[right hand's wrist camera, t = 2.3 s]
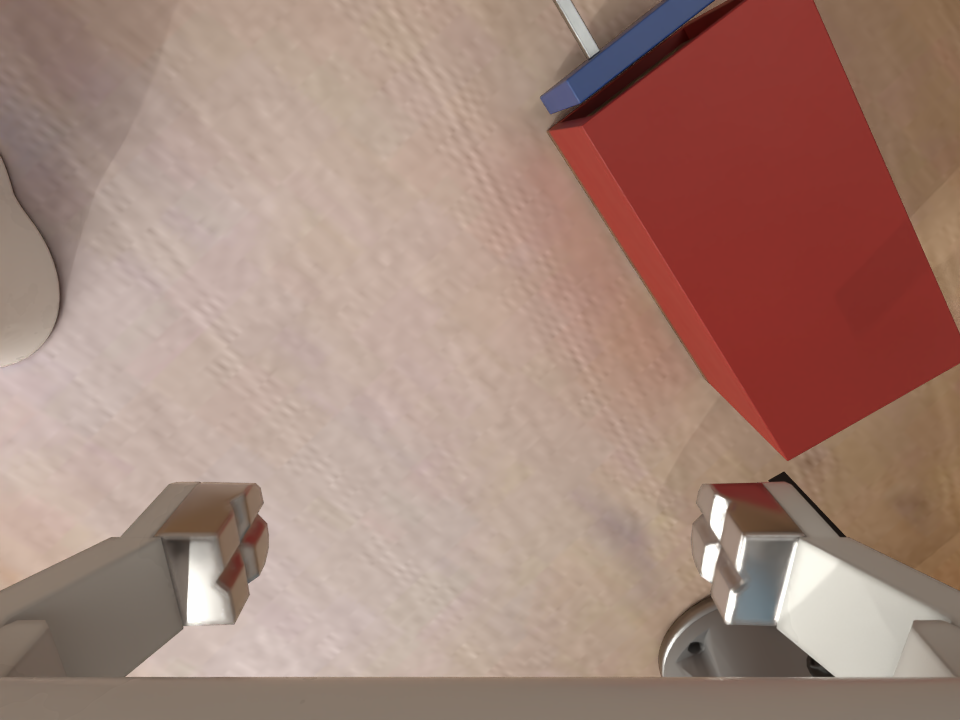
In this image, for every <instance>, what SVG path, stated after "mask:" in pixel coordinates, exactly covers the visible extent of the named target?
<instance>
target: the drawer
mask: <svg viewBox="0 0 960 720" xmlns="http://www.w3.org/2000/svg"><path fill="white" fill-rule="evenodd" d="M713 1H715V0H662V1H661V2H660V3H658V4H657V5H656V6H655V7H653V8H652V9H651V10H650V11H648V12H647V13H646V14H645V15H643V16H642V17H641V18H639V19H638V20H637V21H636V22H634V23H633V24H632V25H631V26H629V27H628V28H627V29H625V30H624V31H623V32H622V33H620V34H619V35H618V36H617V37H615V38H614V39H613V40H612V41H610V42H609V43H608V44H606V45H605V46H604V47H603V48H601V49H599V48H598V46H597V44H596V42H595V41H594V39H593V37H592V35H591V34H590V32H589V30H588V28H587V27H586V25H585V23H584V22H583V20H582V18H581V16H580V15H579V13H578V11H577V9H576V8H575V6H574V4H573V2H572V1H571V0H553V2H554V3H555V5H556V7H557V9H558V10H559V12H560V14H561V15H562V17H563V19H564V21H565V22H566V24H567V26H568V27H569V29H570V31H571V32H572V34H573V36H574V38H575V39H576V41H577V43H578V44H579V46H580V48H581V49H582V51H583V53H584V55H585V56H586V58H587V60H586V61H585V62H584V63H582V64H581V65H580V66H579V67H577V68H576V69H575V70H573V71H572V72H571V73H570V74H568V75H567V76H566V77H565V78H563V79H562V80H561V81H560V82H558V83H557V84H556V85H554V86H553V87H552V88H551V89H549V90H548V91H547V92H546V93H544V94H543V95H542V96H541V97H540V99H541V100H542V102H543V104H544V105H545V107H546V108H547V110H548V112H549V113H550V114H553V113H555V112H558V111H561V110H564V109H567V108H569V107H572V106H575V105H578V104H580V103H582V102H584V101H585V100H586V99H588V98H589V97H590V96H591V95H593V94H594V93H595V92H597V91H598V90H599V89H601V88H602V87H603V86H604V85H606V84H607V83H608V82H610V81H611V80H612V79H613V78H615V77H616V76H617V75H619V74H620V73H621V72H623V71H624V70H625V69H626V68H628V67H629V66H630V65H632V64H633V63H634V62H635V61H637V60H638V59H639V58H641V57H642V56H643V55H645V54H646V53H647V52H648V51H650V50H651V49H652V48H654V47H655V46H656V45H658V44H659V43H660V42H661V41H663V40H664V39H665V38H667V37H668V36H669V35H670V34H672V33H673V32H674V31H676V30H677V29H678V28H680V27H681V26H682V25H683V24H685V23H686V22H687V21H689V20H690V19H691V18H693V17H694V16H695V15H696V14H698V13H699V12H700V11H702V10H703V9H704V8H705V7H707V6H708V5H709V4H711V3H712V2H713ZM694 38H695V37H694ZM692 39H693V38H692ZM692 39H690V40H688V41H686V42H684V43H682V44H680V45H679V46H678V47H676V48H675V49H674V50H672V51H671V52H670V53H669V54H667V55H666V56H665V57H663V58H662V59H661V60H659V61H658V62H657V63H655V64H654V65H653V66H652V67H650V68H649V69H648V70H646V71H645V72H644V73H642V74H641V75H640V76H638V77H637V78H636V79H634V80H633V81H632V82H631V83H629V84H628V85H627V86H625V87H624V88H623V89H621V90H620V91H619V92H617V93H616V94H615V95H614V96H612V97H611V98H610V99H608V100H607V101H606V102H604V103H603V104H602V105H600V106H599V107H598V108H597V109H595V110H594V111H593V112H591V113H590V114H589V115H587V116H592V115H594V114H595V113H596V112H598V111H599V110H600V109H602V108H603V107H604V106H606V105H607V104H608V103H609V102H611V101H612V100H613V99H615V98H616V97H617V96H619V95H620V94H621V93H623V92H624V91H625V90H627V89H628V88H629V87H630V86H632V85H633V84H634V83H636V82H637V81H638V80H640V79H641V78H642V77H644V76H645V75H646V74H648V73H649V72H650V71H651V70H653V69H654V68H655V67H657V66H658V65H659V64H661V63H662V62H663V61H665V60H666V59H667V58H668V57H670V56H671V55H672V54H674V53H675V52H676V51H678V50H679V49H680V48H682V47H683V46H684V45H686V44H687V43H688V42H689V41H691V40H692ZM587 116H586V117H587Z"/></svg>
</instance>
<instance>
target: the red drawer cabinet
mask: <svg viewBox="0 0 960 720" xmlns="http://www.w3.org/2000/svg"><path fill="white" fill-rule="evenodd" d="M694 37H695V38H694ZM692 38H693V39H692ZM690 39H692V40H691V41H689V42H688V43H687V44H686V45H684V46H683V47H682V48H680V49H679V50H678V51H676V52H675V53H674V54H672V55H671V56H670V57H668V58H667V59H666V60H665V61H663V62H662V63H661V64H659V65H658V66H657V67H655V68H654V69H653V70H651V71H650V72H649V73H648V74H646V75H645V76H644V77H642V78H641V79H640V80H638V81H637V82H636V83H634V84H633V85H632V86H630V87H629V88H628V89H627V90H625V91H624V92H623V93H621V94H620V95H619V96H617V97H616V98H615V99H613V100H612V101H611V102H609V103H608V104H607V105H606V106H604V107H603V108H602V109H600V110H599V111H598V112H596V113H595V114H594V115H592V116H587V115H589V114H590V113H591V112H593V111H594V110H595V109H597V108H598V107H599V106H600V105H602V104H603V103H604V102H606V101H607V100H608V99H610V98H611V97H612V96H614V95H615V94H616V93H617V92H619V91H620V90H621V89H623V88H624V87H625V86H627V85H628V84H629V83H631V82H632V81H633V80H634V79H636V78H637V77H638V76H640V75H641V74H642V73H644V72H645V71H646V70H648V69H649V68H650V67H652V66H653V65H654V64H655V63H657V62H658V61H659V60H661V59H662V58H663V57H665V56H666V55H667V54H669V53H670V52H671V51H672V50H674V49H675V48H676V47H678V46H679V45H680V44H682V43H684V42H686V41H688V40H690ZM586 116H587V117H586ZM547 133H548V135H549V136H550V138H551V139H552V141H553V142H554V144H555V146H556V147H557V149H558V150H559V152H560V153H561V155H562V157H563V158H564V160H565V161H566V163H567V164H568V166H569V167H570V169H571V171H572V172H573V174H574V175H575V177H576V178H577V180H578V182H579V183H580V185H581V186H582V188H583V189H584V191H585V192H586V194H587V196H588V197H589V199H590V200H591V202H592V203H593V205H594V207H595V208H596V210H597V211H598V213H599V214H600V216H601V218H602V219H603V221H604V222H605V224H606V225H607V227H608V228H609V230H610V232H611V233H612V235H613V236H614V238H615V239H616V241H617V243H618V244H619V246H620V247H621V249H622V250H623V252H624V253H625V255H626V257H627V258H628V260H629V261H630V263H631V264H632V266H633V268H634V269H635V271H636V272H637V274H638V275H639V277H640V279H641V280H642V282H643V283H644V285H645V286H646V288H647V289H648V291H649V293H650V294H651V296H652V297H653V299H654V300H655V302H656V304H657V305H658V307H659V308H660V310H661V311H662V313H663V314H664V316H665V318H666V319H667V321H668V322H669V324H670V325H671V327H672V329H673V330H674V332H675V333H676V335H677V336H678V338H679V340H680V341H681V343H682V344H683V346H684V347H685V349H686V350H687V352H688V354H689V355H690V357H691V358H692V360H693V361H694V363H695V365H696V366H697V368H698V369H699V371H700V372H701V374H702V375H703V377H704V379H705V380H706V381H707V382H708V383H710V384H711V385H712V386H713V387H714V388H715V389H716V390H717V391H718V392H719V393H720V394H721V395H722V396H723V397H724V398H725V399H726V400H727V401H728V402H729V403H730V404H731V405H732V406H733V407H734V408H735V409H736V410H737V411H738V412H739V413H740V414H741V415H742V416H743V417H744V418H745V419H746V420H747V421H748V422H749V423H750V424H751V425H752V426H753V427H754V428H755V429H756V430H757V431H758V432H759V433H760V434H761V435H762V436H763V437H764V438H765V439H766V440H767V441H768V442H769V443H770V444H771V445H772V446H773V447H774V448H775V449H776V450H777V451H778V452H779V453H780V454H781V455H782V456H783V457H784V458H785V459H786V460H787V461H789V460H791V459H792V458H794V457H796V456H798V455H799V454H801V453H803V452H805V451H806V450H808V449H810V448H812V447H814V446H815V445H817V444H819V443H821V442H822V441H824V440H826V439H828V438H829V437H831V436H833V435H835V434H836V433H838V432H840V431H842V430H843V429H845V428H847V427H849V426H850V425H852V424H854V423H856V422H857V421H859V420H861V419H863V418H864V417H866V416H868V415H870V414H871V413H873V412H875V411H877V410H878V409H880V408H882V407H884V406H886V405H887V404H889V403H891V402H893V401H894V400H896V399H898V398H900V397H901V396H903V395H905V394H907V393H908V392H910V391H912V390H914V389H915V388H917V387H919V386H921V385H922V384H924V383H926V382H928V381H929V380H931V379H933V378H935V377H936V376H938V375H940V374H942V373H943V372H945V371H947V370H949V369H950V368H952V367H954V366H956V365H958V364H959V363H960V333H959V331H958V329H957V326H956V324H955V322H954V320H953V317H952V315H951V313H950V310H949V308H948V306H947V304H946V301H945V299H944V297H943V294H942V292H941V290H940V288H939V285H938V283H937V281H936V279H935V276H934V274H933V272H932V269H931V267H930V265H929V263H928V260H927V258H926V256H925V253H924V251H923V249H922V247H921V244H920V242H919V240H918V238H917V235H916V233H915V231H914V228H913V226H912V224H911V222H910V219H909V217H908V215H907V212H906V210H905V208H904V206H903V203H902V201H901V199H900V196H899V194H898V192H897V190H896V187H895V185H894V183H893V181H892V178H891V176H890V174H889V171H888V169H887V167H886V165H885V162H884V160H883V158H882V155H881V153H880V151H879V149H878V146H877V144H876V142H875V140H874V137H873V135H872V133H871V130H870V128H869V126H868V124H867V121H866V119H865V117H864V114H863V112H862V110H861V108H860V105H859V103H858V101H857V99H856V96H855V94H854V92H853V89H852V87H851V85H850V83H849V80H848V78H847V76H846V73H845V71H844V69H843V67H842V64H841V62H840V60H839V57H838V55H837V53H836V51H835V48H834V46H833V44H832V42H831V39H830V37H829V35H828V32H827V30H826V28H825V26H824V23H823V21H822V19H821V16H820V14H819V12H818V10H817V7H816V5H815V3H814V1H813V0H727V1H726V2H724V3H722V4H720V5H718V6H717V7H715V8H713V9H711V10H709V11H708V12H706V13H704V14H702V15H700V16H699V17H697V18H694V19H692V20H690V21H689V22H688V23H687V24H685V25H684V26H683V27H682V28H680V29H679V30H678V31H676V32H675V33H674V34H672V35H671V36H670V37H669V38H667V39H666V40H665V41H663V42H662V43H661V44H660V45H658V46H657V47H656V48H654V49H653V50H652V51H650V52H649V53H648V54H647V55H645V56H644V57H643V58H641V59H640V60H639V61H637V62H636V63H635V64H634V65H632V66H631V67H630V68H628V69H627V70H626V71H624V72H623V73H622V74H621V75H619V76H618V77H617V78H615V79H614V80H613V81H612V82H610V83H609V84H608V85H606V86H605V87H604V88H602V89H601V90H600V91H599V92H597V93H596V94H595V95H593V96H592V97H591V98H589V99H588V100H587V101H586V102H584V103H583V104H582V105H580V106H579V107H578V108H576V109H575V110H574V111H573V112H571V113H570V114H569V115H567V116H566V117H565V118H564V119H562V120H561V121H560V122H558V123H557V124H556V125H554V126H553V127H552V128H551V129H549V130H548V131H547Z"/></svg>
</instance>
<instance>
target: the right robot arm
mask: <svg viewBox="0 0 960 720" xmlns="http://www.w3.org/2000/svg"><path fill="white" fill-rule="evenodd" d="M59 301H60V291H59V281H58V276H57V272H56V268H55V264H54V261H53V259H52V256H51V254H50V251H49V249H48V247H47V245H46V243H45V241H44V239H43V238H42V236H41V234H40V232H39V231H38V229H37V228H36V226H35V225H34V224H33V222H32V221H31V219H30V218H29V217H28V215H27V214H26V213H25V211H24V210H23V208H22V207H21V205H20V204H19V202H18V201H17V199H16V197H15V195H14V193H13V189H12V186H11V182H10V179H9V176H8V173H7V170H6V167H5V164H4V162H3V160H2V158H1V156H0V368H1V367H5V366H9V365H12V364H15V363H17V362H20V361H22V360H24V359H25V358H27V357H29V356H30V355H32V354H33V353H34V352H35V351H37V350H38V349H39V348H40V347H41V346H42V345H43V343H44V342H45V341H46V340H47V338H48V337H49V335H50V333H51V331H52V330H53V327H54V325H55V322H56V319H57V315H58V310H59ZM263 503H264V502H263V497H262V492H261V488H260V487H259V486H258V485H257V484H256V483H225V482H202V483H201V482H175V483H171V484H169V485H168V486H167V487H166V488H165V489H164V490H163V491H162V492H161V493H160V495H159V496H158V497H157V498H156V499H155V500H154V501H153V502H152V503H151V504H150V505H149V506H148V508H147V509H146V510H145V511H144V512H143V513H142V514H141V515H140V516H139V517H138V518H137V519H136V521H135V522H134V523H133V524H132V525H131V526H130V527H129V528H128V529H127V530H126V531H125V533H124V534H123V535H122V536H121V537H111V538H109V539H107V540H105V541H102V542H100V543H98V544H96V545H94V546H92V547H90V548H88V549H86V550H84V551H82V552H80V553H78V554H76V555H73V556H71V557H69V558H67V559H65V560H63V561H61V562H59V563H57V564H55V565H53V566H51V567H49V568H47V569H45V570H42V571H40V572H38V573H36V574H34V575H32V576H30V577H28V578H26V579H24V580H22V581H20V582H18V583H16V584H14V585H11V586H9V587H7V588H5V589H3V590H1V591H0V720H960V591H959V590H957V589H954V588H952V587H950V586H948V585H946V584H944V583H942V582H940V581H938V580H936V579H934V578H932V577H930V576H928V575H926V574H924V573H921V572H919V571H917V570H915V569H913V568H911V567H909V566H907V565H905V564H903V563H901V562H899V561H897V560H895V559H893V558H891V557H888V556H886V555H884V554H882V553H880V552H878V551H876V550H874V549H872V548H870V547H868V546H866V545H864V544H862V543H860V542H858V541H855V540H853V539H851V538H849V537H839V536H838V535H837V534H836V533H835V531H834V530H833V529H832V528H831V527H830V526H829V525H828V524H827V523H826V522H825V521H824V519H823V518H822V517H821V516H820V515H819V514H818V513H817V512H816V511H815V510H814V509H813V508H812V506H811V505H810V504H809V503H808V502H807V501H806V500H805V499H804V498H803V497H802V496H801V494H800V493H799V492H798V491H797V490H796V489H795V488H794V487H793V486H792V485H791V484H789V483H787V482H757V483H726V484H702V485H701V487H700V489H699V491H698V496H697V502H696V503H697V505H698V507H699V509H700V510H701V512H702V515H701V516H700V517H699V518H698V519H697V520H696V521H695V522H694V523H693V526H692V534H691V545H692V555H693V558H694V562H695V565H696V567H697V569H698V571H699V573H700V575H701V576H702V577H703V578H705V579H706V580H708V581H709V582H711V583H712V588H711V593H710V595H711V597H712V599H713V601H714V603H715V605H716V607H717V608H718V610H719V612H720V614H721V616H722V618H723V620H724V622H725V624H726V625H760V626H777V629H778V630H779V631H780V632H782V633H783V634H784V635H785V636H786V637H788V638H789V639H790V640H791V641H792V642H794V643H795V644H796V645H797V646H798V647H800V648H801V649H802V650H803V651H805V652H806V653H807V654H808V655H809V656H811V657H812V658H813V659H814V660H815V661H817V662H818V663H819V664H820V665H822V666H823V667H824V668H825V669H826V670H828V671H829V672H830V673H831V674H832V675H834V676H835V677H125V676H127V675H128V674H129V673H130V672H131V671H133V670H134V669H135V668H136V667H137V666H139V665H140V664H141V663H142V662H144V661H145V660H146V659H147V658H148V657H150V656H151V655H152V654H153V653H154V652H156V651H157V650H158V649H159V648H161V647H162V646H163V645H164V644H165V643H167V642H168V641H169V640H170V639H171V638H173V637H174V636H175V635H176V634H178V633H179V632H180V631H181V630H182V629H183V626H200V625H234V624H235V622H236V620H237V618H238V616H239V614H240V612H241V610H242V609H243V607H244V605H245V603H246V601H247V599H248V597H249V595H250V593H249V588H248V583H250V582H251V581H252V580H254V579H255V578H257V577H258V576H259V575H260V573H261V571H262V569H263V567H264V565H265V562H266V558H267V553H268V549H269V533H268V526H267V523H266V522H265V521H264V520H263V519H262V518H261V517H260V516H259V515H258V512H259V510H260V509H261V507H262V505H263Z"/></svg>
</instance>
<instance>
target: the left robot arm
mask: <svg viewBox="0 0 960 720" xmlns="http://www.w3.org/2000/svg"><path fill="white" fill-rule="evenodd" d="M768 481H769V482H787V483H789V484H791V485H792V486H793V487H794V488H795V489H796V490H797V491H798V492H799V493H800V494H801V496H802V497H803V498H804V499H805V500H806V501H807V502H808V503H809V504H810V505H811V506H812V508H813V509H814V510H815V511H816V512H817V513H818V514H819V515H820V516H821V517H822V518H823V519H824V521H825V522H826V523H827V524H828V525H829V526H830V527H831V528H832V529H833V530H834V531H835V533H836V534H837V535H838V536H839V537H846V536H845V535H844V534H843V533H842V532H841V531H840V530H839V529H838V528H837V527H836V525H835V524H834V523H833V522H832V521H831V520H830V519H829V518H828V517H827V516H826V515H825V514H824V513H823V512H822V511H821V510H820V509H819V508H818V507H817V506H816V504H815V503H814V502H813V501H812V500H811V499H810V498H809V497H808V496H807V495H806V494H805V493H804V492H803V491H802V490H801V489H800V488H799V487H798V486H797V485H796V483H795V482H794V481H793V480H792V479H791V478H790V477H789V476H788V475H787V474H786V473H785V472H782V473H781V474H779V475H777V476H775V477H774V478H772V479H770V480H768ZM658 663H659V670H660V674H661V676H662V677H835V676H834V675H832V674H831V673H830V672H829V671H828V670H826V669H825V668H824V667H823V666H822V665H820V664H819V663H818V662H817V661H815V660H814V659H813V658H812V657H811V656H809V655H808V654H807V653H806V652H805V651H803V650H802V649H801V648H800V647H798V646H797V645H796V644H795V643H794V642H792V641H791V640H790V639H789V638H788V637H786V636H785V635H784V634H783V633H782V632H780V631H779V630H778V629H777V626H760V625H726V624H725V622H724V620H723V618H722V616H721V614H720V612H719V610H718V608H717V607H716V605H715V603H714V601H713V599H712V597H709V598H707V599H705V600H703V601H701V602H699V603H698V604H696V605H694V606H693V607H691V608H690V609H689V610H687V611H686V612H685V613H684V614H682V615H681V616H680V617H679V618H678V619H677V620H676V621H675V622H674V624H673V625H672V626H671V627H670V629H669V630H668V632H667V633H666V635H665V637H664V639H663V641H662V644H661V647H660V651H659V659H658Z"/></svg>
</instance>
